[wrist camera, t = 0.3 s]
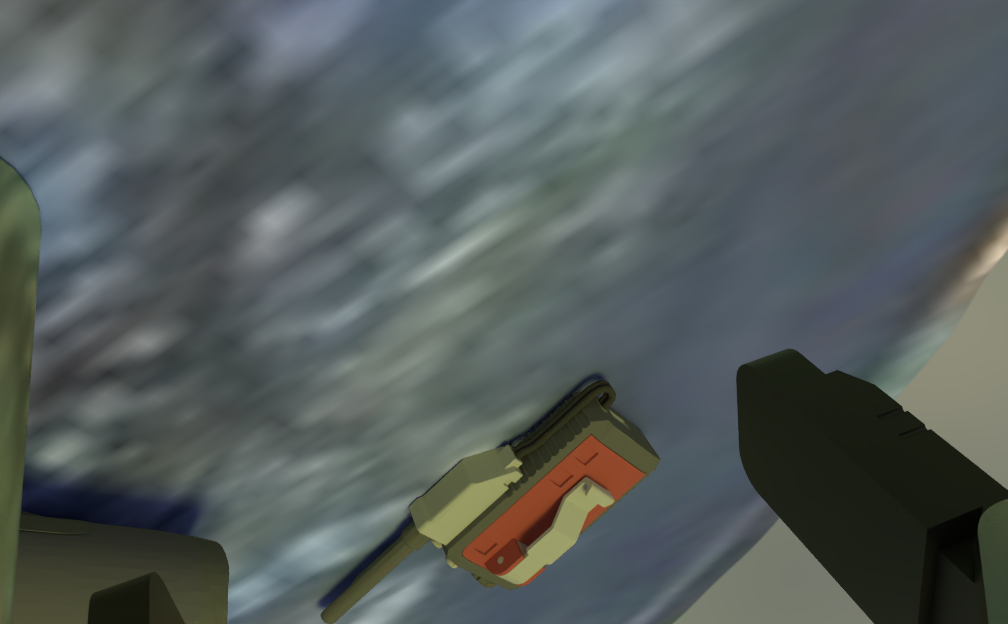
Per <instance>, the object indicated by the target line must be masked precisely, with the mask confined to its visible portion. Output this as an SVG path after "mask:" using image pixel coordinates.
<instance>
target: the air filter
mask: <svg viewBox="0 0 1008 624" xmlns="http://www.w3.org/2000/svg"><path fill="white" fill-rule="evenodd" d="M40 240H41V223H40V213H39V208H38V205H37V203H36V201H35V199H34V196H33V194H32V192H31V190H30V187H29V186H28V185H27V184H26V182H25V181H24V180H23V179H22V178H21V176H20V175H19V174H18V173H17V172H16V170H15V169H14V168H13V167H11V166H10V165H9V164H7V163H6V162H5V161H3V160H2V159H1V158H0V624H13V614H14V600H15V586H16V572H17V558H18V545H19V531H20V517H21V503H22V489H23V475H24V462H25V448H26V434H27V420H28V406H29V392H30V378H31V365H32V351H33V337H34V323H35V309H36V295H37V282H38V268H39V254H40Z"/></svg>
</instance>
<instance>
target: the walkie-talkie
mask: <svg viewBox="0 0 1008 624" xmlns="http://www.w3.org/2000/svg"><path fill="white" fill-rule="evenodd" d="M601 393H604V394H603V396H602V397H601V398H600V399H599V398H598V397H597V396H598V395H600V394H601ZM615 396H616V393H615V391H614V390H613V388H612V387H611V385H610V384H609V382H607V381H604V380H603V381H597V382H595V383H593V384H592V385H590V386H588V387H587V388H585V389H584V390H583V391H582V392H577V393H572V396H571V397H570V398H569V399H566V400H565V401H564V403H563V404H562V405H561V406H558V407H557V410H556V411H555V412H554V413H551V414H549V417H548V418H547V419H546V420H543V421H542V424H540V425H539V426H538V427H537V426H536V427H535V428H534V429H535V430H534V431H533V432H532V433H529V434H528V435H527V437H526V438H525V439H524V440H521V441H520V444H518V445H517V446H516V447H511V446H509V445H506V446H505V447H504V446H502V447H499V448H495V449H492V450H489V451H486V452H483V453H479V454H476V455H473V456H470V457H467V458H464V459H463V460H462V461H461V462H460V463H458V464H457V465H456V466H455V467H454V468H453V469H452V470H451V471H450V472H449V473H448V474H447V475H445V476H444V477H443V478H442V479H441V480H440V481H439V482H438V483H437V484H436V485H435V486H433V487H432V488H431V489H430V490H429V491H428V492H427V493H426V494H425V495H424V496H422V497H419V498H417V499H416V500H415V501H414V502H413V503H412V504H411V505H410V506H409V509H410V512H411V515H412V517H413V520H414V521H413V522H412V523H411V524H409V525H408V526H407V527H406V528H405V529H404V530H403V531H402V535H401V536H400V537H399V538H398V539H397V540H396V541H395V542H394V543H392V544H391V545H390V546H389V547H388V548H387V549H386V550H385V551H384V552H383V553H382V554H381V555H380V556H378V557H377V558H376V559H375V560H374V561H373V562H372V563H371V564H370V565H369V566H368V567H367V568H365V569H364V570H363V571H362V572H361V573H360V574H359V575H358V576H357V577H356V578H355V579H354V580H353V583H352V585H351V586H350V587H348V588H347V589H346V590H345V591H344V592H343V593H342V594H341V595H340V596H339V597H338V598H337V599H336V600H335V601H333V602H332V603H331V604H330V605H329V606H328V607H327V608H326V609H325V610H324V611H323V612H322V613H321V618H322V620H323V621H324V622H325V623H328V624H333V623H335V622H336V621H337V620H338V619H339V618H340V617H341V616H343V615H344V614H345V613H346V612H347V611H348V610H349V609H350V608H351V607H352V606H353V605H355V604H356V603H357V602H358V601H359V600H360V599H361V598H362V597H363V596H364V595H365V594H367V593H368V592H369V591H370V590H371V589H372V588H373V587H374V586H375V585H376V584H377V583H379V582H380V581H381V580H382V579H383V578H384V577H385V576H386V575H387V574H388V573H389V572H390V571H392V570H393V569H394V568H395V567H396V566H397V565H398V564H399V563H400V562H401V561H402V560H404V559H405V558H406V557H407V556H408V555H409V554H410V553H411V552H412V551H413V550H419V549H420V548H421V547H422V546H423V545H424V544H426V543H427V542H428V541H429V540H430V539H431V541H432V543H433V544H434V545H435V546H436V547H438V548H441V547H443V549H444V552H445V554H446V561H447V562H448V564H449V565H450V566H451V567H453V568H456V567H458V566H459V567H461V568H463V569H465V570H467V571H469V572H471V574H472V575H473V577H474V578H475V579H476V580H477V581H478V582H479V583H480V584H481V585H482V586H484V587H486V588H493V587H494V586H495V585H496V584H497V585H499V586H501V587H503V588H505V589H507V590H513V589H516V588H519V587H521V586H524V585H527V584H528V583H530V582H531V581H533V580H534V579H535V578H536V577H537V576H538V575H539V574H540V573H541V572H543V571H544V570H545V566H546V565H547V564H552V563H553V562H554V561H555V560H556V559H558V558H559V557H560V556H561V555H562V554H563V553H564V552H566V551H567V550H568V549H569V548H570V547H571V546H573V545H574V544H575V543H576V541H577V538H578V536H579V535H581V534H582V533H583V532H585V530H586V529H587V528H588V527H590V526H591V525H592V524H593V523H594V522H595V521H597V520H598V519H599V518H600V517H601V516H602V515H604V514H605V513H606V512H607V511H608V510H609V509H610V508H612V507H613V506H614V505H615V504H616V503H617V502H619V501H620V499H622V498H623V497H624V496H625V495H627V494H628V492H630V491H631V490H632V489H634V488H635V486H636V485H638V484H639V483H640V482H642V480H643V479H644V478H645V477H647V476H648V475H649V474H650V473H651V472H652V471H653V470H655V469H656V467H657V465H658V463H659V461H660V458H659V456H658V455H657V453H656V452H655V451H654V449H653V448H652V446H651V445H650V443H649V442H648V440H647V439H646V438H645V436H644V435H643V433H642V432H641V430H640V429H639V428H637V427H636V426H635V425H633V424H632V423H631V422H630V421H628V420H627V419H626V418H624V417H623V416H622V415H620V414H619V413H618V412H616V411H615V410H614V409H613V408H611V407H610V406H611V404H612V403H613V402H614V400H615Z"/></svg>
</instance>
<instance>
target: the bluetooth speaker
mask: <svg viewBox="0 0 1008 624" xmlns="http://www.w3.org/2000/svg"><path fill="white" fill-rule="evenodd" d="M151 572H156V573H158V574H159V576H160V577H161V578H162V580H163V582H164V584H165V585H166V587H167V589H168V591H169V593H170V595H171V597H172V599H173V601H174V603H175V605H176V607H177V609H178V611H179V612H180V614H181V616H182V618H183V620H184V622H185V624H227V612H228V582H229V565H228V560H227V557H226V554H225V552H224V550H223V548H222V547H221V545H220V544H219V543H217V542H215V541H211V540H206V539H202V538H197V537H193V536H187V535H182V534H176V533H170V532H164V531H159V530H152V529H143V528H134V527H125V526H116V525H108V524H99V523H90V522H86V521H82V520H72V519H62V518H52V517H43V516H40V515H37V514H34V513H29V512H24V511H21V517H20V531H19V545H18V558H17V572H16V586H15V600H14V614H13V624H87V623H88V610H89V601H90V598H91V595H92V594H93V593H95V592H98V591H100V590H103V589H106V588H109V587H112V586H114V585H117V584H120V583H123V582H126V581H129V580H131V579H134V578H137V577H140V576H143V575H145V574H148V573H151Z"/></svg>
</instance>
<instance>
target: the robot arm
mask: <svg viewBox="0 0 1008 624" xmlns="http://www.w3.org/2000/svg"><path fill="white" fill-rule="evenodd" d="M736 383H737V406H738V430H739V450H740V456H741V460H742V464H743V467H744V469H745V472H746V474H747V476H748V478H749V480H750V482H751V484H752V485H753V487H754V488H755V490H756V491H757V492H758V494H759V495H760V496H761V497H762V498H763V499H764V500H765V501H766V503H767V504H768V505H769V506H770V507H771V508H772V509H773V510H774V512H775V513H776V514H777V515H778V516H779V517H780V518H781V519H782V521H783V522H784V523H785V524H786V525H787V526H788V527H789V528H790V529H791V531H792V532H793V533H794V534H795V535H796V536H797V537H798V538H799V540H800V541H801V542H802V543H803V544H804V545H805V546H806V548H808V550H809V551H810V552H811V553H812V554H813V555H814V556H815V558H816V559H817V560H818V561H819V562H820V563H821V564H822V566H823V567H824V568H825V569H826V570H827V571H828V572H829V573H830V575H831V576H832V577H833V578H834V579H835V580H836V581H837V582H838V583H839V585H840V586H841V587H842V588H843V589H844V590H845V591H846V592H847V594H848V595H849V596H850V597H851V598H852V599H853V600H854V601H855V603H856V604H857V605H858V606H859V607H860V608H861V609H862V610H863V611H864V612H865V614H866V615H867V616H868V617H869V618H870V619H871V620H872V622H873V623H874V624H1008V490H1007V489H1006V488H1004V487H1003V486H1002V485H1000V484H999V483H998V482H997V481H995V480H994V479H993V478H992V477H990V476H989V475H988V474H987V473H985V472H984V471H983V470H982V469H980V468H979V467H978V466H977V465H975V464H974V463H973V462H971V461H970V460H969V459H968V458H966V457H965V456H964V455H963V454H961V453H960V452H959V451H958V450H956V449H955V448H954V447H952V446H951V445H950V444H949V443H947V442H946V441H945V440H944V439H942V438H941V437H940V436H939V435H937V434H936V433H935V432H934V431H932V430H931V429H930V430H927V429H926V427H925V425H924V424H923V423H922V422H921V421H920V420H918V419H917V418H916V417H915V416H913V415H912V414H911V413H910V412H908V411H906V412H904V411H903V408H902V406H901V405H899V404H898V403H897V402H896V401H895V400H893V399H892V398H891V397H890V396H888V395H887V394H886V393H884V392H883V391H882V390H881V389H879V388H878V387H877V386H876V385H874V384H872V383H869V382H867V381H864V380H861V379H859V378H856V377H854V376H851V375H849V374H846V373H844V372H841V371H839V370H836V371H834V372H831V373H828V374H824V373H823V372H822V371H821V370H820V369H818V368H817V367H816V366H815V365H814V364H812V363H811V362H810V361H809V360H808V359H806V358H805V357H804V356H803V355H802V354H800V353H799V352H798V351H796V350H794V349H786V350H783V351H780V352H777V353H775V354H772V355H769V356H766V357H763V358H760V359H758V360H755V361H752V362H749V363H746V364H744V365H741V366H740V367H739V369H738V371H737V377H736ZM87 624H185V622H184V620H183V618H182V616H181V614H180V612H179V611H178V609H177V607H176V605H175V603H174V601H173V599H172V597H171V595H170V593H169V591H168V589H167V587H166V585H165V584H164V582H163V580H162V578H161V577H160V576H159V574H158V573H156V572H151V573H148V574H145V575H143V576H140V577H137V578H134V579H131V580H129V581H126V582H123V583H120V584H117V585H114V586H112V587H109V588H106V589H103V590H100V591H98V592H95V593H93V594H92V595H91V598H90V601H89V610H88V623H87Z"/></svg>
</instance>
